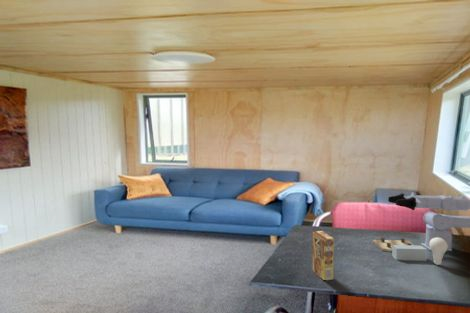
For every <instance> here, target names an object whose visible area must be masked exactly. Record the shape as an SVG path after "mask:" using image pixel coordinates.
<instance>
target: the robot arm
mask: <svg viewBox="0 0 470 313" xmlns="http://www.w3.org/2000/svg"><path fill="white" fill-rule="evenodd" d="M387 200H388V202H389V203H393V204H395V205H396V206H398V207H403V208H406V209H407V208H408V209H410V210H412V211H415V209H440V210H441V209H443V210H445V211H448V212H450V211H452V210H454V211H463V212H466V211H469V210H470V199H469V198H467V197H466V196H463V195H460V196H453V195H449V196H446V195H442V194H439V195H438V194H437V195H436V196H435V195H417V194H415V192H410V195H407V196H405V193H403V192H402V193H399V194H397V195H393V196H388V199H387ZM422 219H423V221H424V223H425V242H421V243H420V244H421V246H423V247H425V248H426V249H427V250H428V251H432V250H431V249H430V246H429V242H430V240H431V239H433V238H436V237H438V238H442V239H444V240H445V241H446V243H447V245H448V248H447V250H446V252H452V251H453V249H452V240H453V239H452V238H453V235H452V232H451V229H453V228H465V229H466V228H467V229H468V228H469V229H470V216H469V215H448V214H443V213H436V212H435V211H429V210H428V211H427V212H425V213H424V214H423V218H422Z"/></svg>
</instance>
